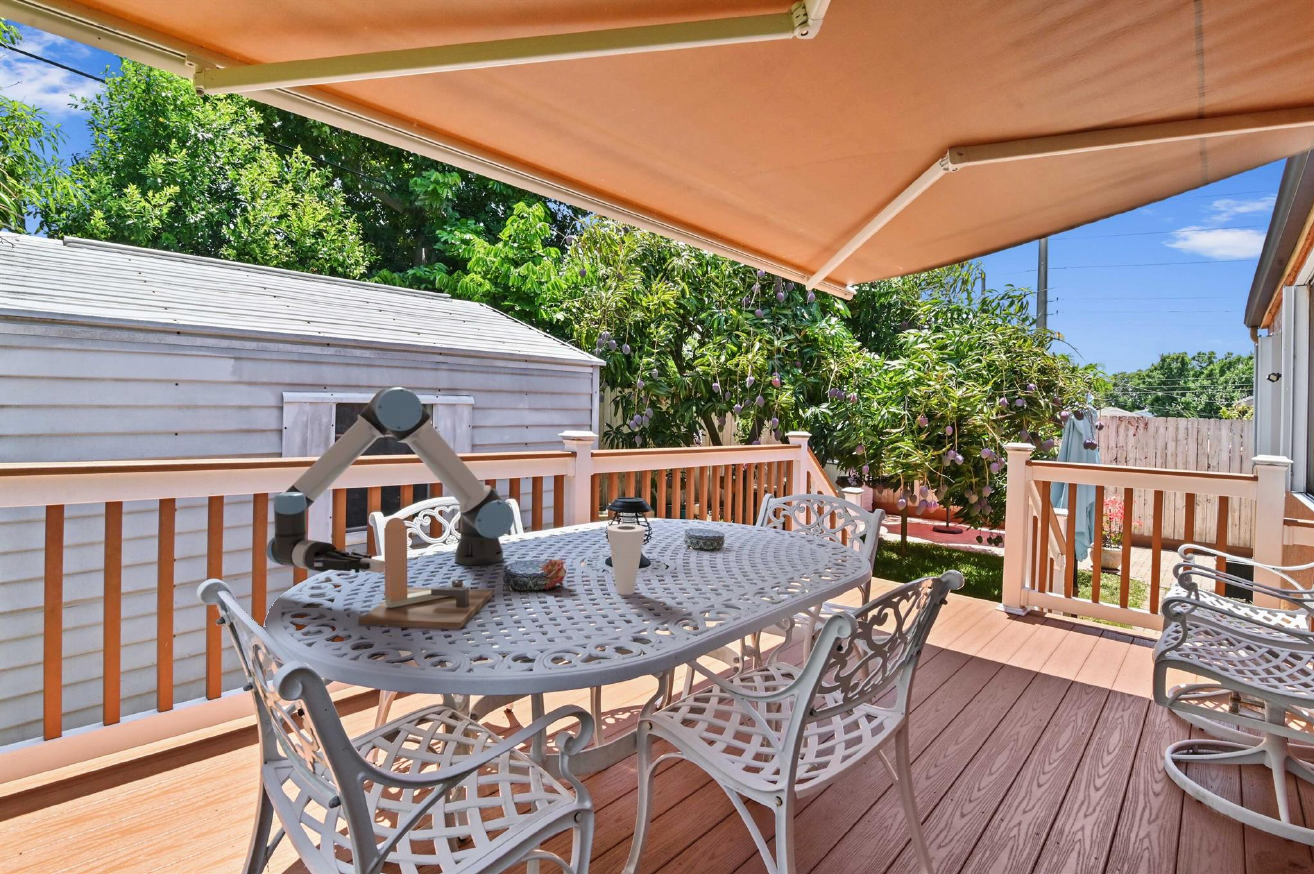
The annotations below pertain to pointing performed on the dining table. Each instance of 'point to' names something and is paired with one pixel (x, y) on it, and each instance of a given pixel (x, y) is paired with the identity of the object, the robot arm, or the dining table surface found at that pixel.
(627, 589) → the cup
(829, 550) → the dining table surface
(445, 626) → the board
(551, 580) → the flower
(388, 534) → the link
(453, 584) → the keeper
